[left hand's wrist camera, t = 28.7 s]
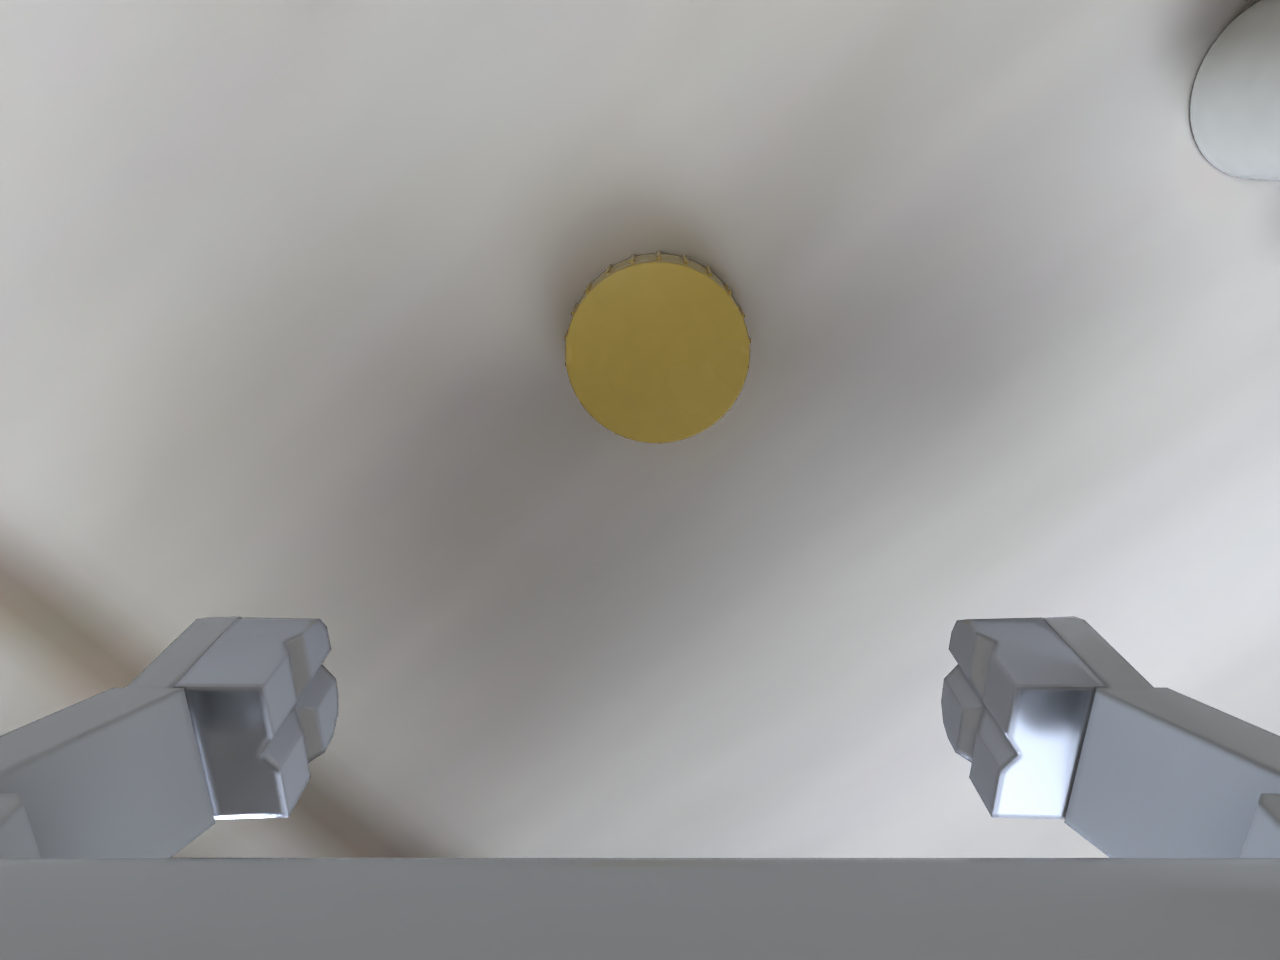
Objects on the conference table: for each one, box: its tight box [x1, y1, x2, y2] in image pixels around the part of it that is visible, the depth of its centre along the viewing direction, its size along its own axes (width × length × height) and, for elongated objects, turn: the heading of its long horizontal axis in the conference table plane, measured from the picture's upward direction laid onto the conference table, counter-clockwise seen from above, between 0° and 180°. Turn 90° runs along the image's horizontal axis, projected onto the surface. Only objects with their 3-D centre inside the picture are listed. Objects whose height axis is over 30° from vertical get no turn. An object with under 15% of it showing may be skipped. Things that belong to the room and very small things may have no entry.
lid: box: [565, 251, 751, 443], centre depth 24 cm, size 6×6×2 cm
